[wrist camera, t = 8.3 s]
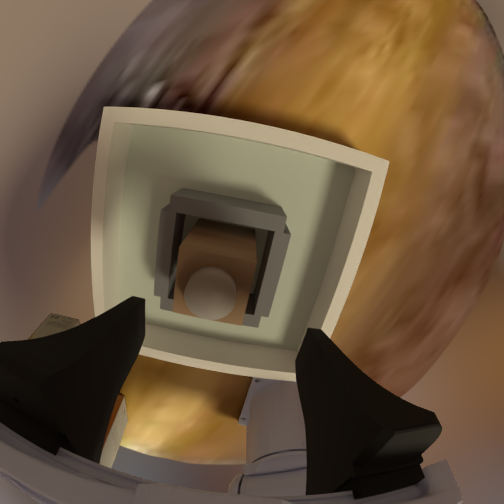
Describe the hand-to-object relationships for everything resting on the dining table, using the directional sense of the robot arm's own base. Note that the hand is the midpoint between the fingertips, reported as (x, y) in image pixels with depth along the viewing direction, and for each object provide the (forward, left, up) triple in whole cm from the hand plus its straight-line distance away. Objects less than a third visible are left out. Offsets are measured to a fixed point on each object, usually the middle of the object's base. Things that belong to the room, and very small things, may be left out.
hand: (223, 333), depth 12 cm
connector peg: (0, +1, -9) cm, 9 cm away
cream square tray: (0, +1, -10) cm, 10 cm away
